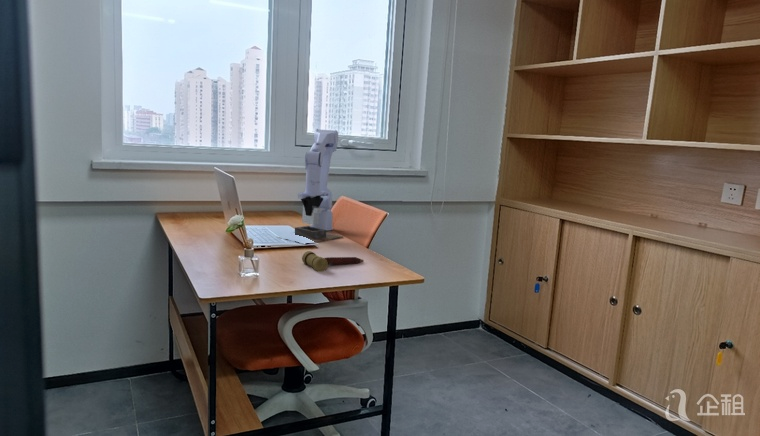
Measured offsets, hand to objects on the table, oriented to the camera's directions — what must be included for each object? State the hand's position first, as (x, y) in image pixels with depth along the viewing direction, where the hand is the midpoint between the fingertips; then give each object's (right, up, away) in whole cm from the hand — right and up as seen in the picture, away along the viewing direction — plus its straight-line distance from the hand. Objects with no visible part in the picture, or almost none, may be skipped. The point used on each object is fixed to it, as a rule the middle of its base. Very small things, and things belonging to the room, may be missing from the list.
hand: (311, 215), depth 219 cm
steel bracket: (-1, -3, +1) cm, 3 cm away
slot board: (-1, -9, +2) cm, 9 cm away
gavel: (+13, -17, -37) cm, 43 cm away
